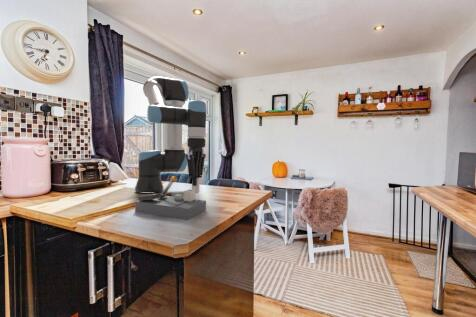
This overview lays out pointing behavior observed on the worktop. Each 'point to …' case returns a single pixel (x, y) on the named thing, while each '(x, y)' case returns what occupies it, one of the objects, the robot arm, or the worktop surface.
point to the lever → (168, 186)
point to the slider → (189, 195)
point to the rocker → (149, 196)
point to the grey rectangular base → (171, 207)
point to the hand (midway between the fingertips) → (195, 192)
